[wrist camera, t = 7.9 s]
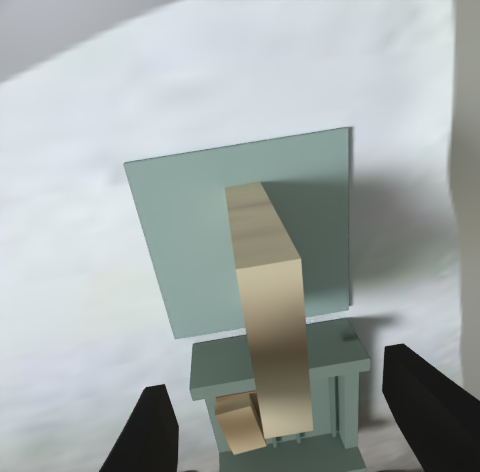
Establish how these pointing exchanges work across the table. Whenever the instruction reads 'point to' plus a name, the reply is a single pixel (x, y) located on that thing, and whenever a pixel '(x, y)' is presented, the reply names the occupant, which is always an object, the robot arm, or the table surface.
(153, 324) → the table surface
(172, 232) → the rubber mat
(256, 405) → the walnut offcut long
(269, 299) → the plywood sheet
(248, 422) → the oak offcut short
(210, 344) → the rack
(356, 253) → the table surface
